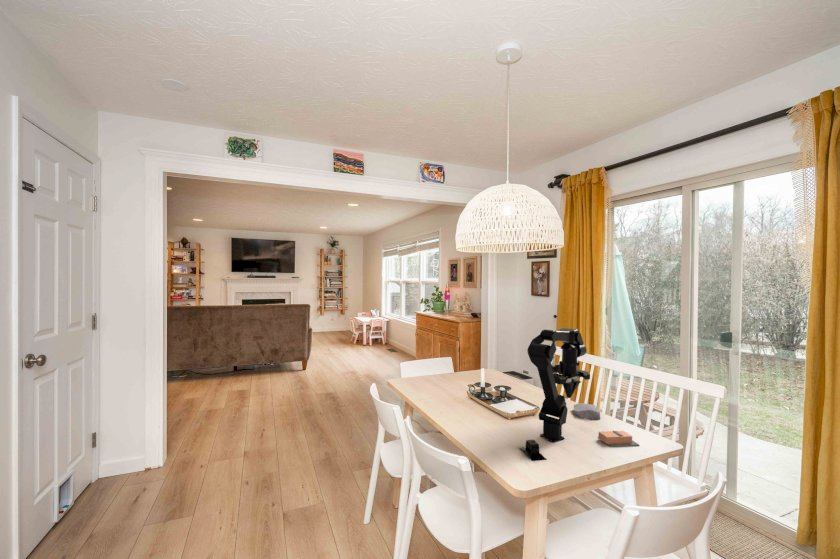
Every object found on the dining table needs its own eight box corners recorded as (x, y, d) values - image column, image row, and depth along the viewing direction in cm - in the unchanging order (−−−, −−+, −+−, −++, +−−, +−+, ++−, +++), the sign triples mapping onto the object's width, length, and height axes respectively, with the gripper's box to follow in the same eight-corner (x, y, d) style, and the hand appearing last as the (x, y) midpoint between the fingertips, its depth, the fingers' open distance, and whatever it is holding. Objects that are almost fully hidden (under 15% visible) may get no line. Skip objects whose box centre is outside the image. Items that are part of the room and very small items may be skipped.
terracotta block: (606, 436, 136) (632, 435, 137) (598, 430, 140) (623, 429, 142) (606, 444, 136) (632, 443, 137) (598, 438, 140) (623, 437, 142)
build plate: (551, 463, 123) (551, 449, 123) (531, 465, 121) (531, 451, 121) (532, 446, 135) (532, 433, 135) (513, 448, 133) (514, 435, 133)
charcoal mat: (611, 446, 134) (611, 445, 134) (597, 437, 142) (597, 436, 142) (639, 445, 136) (639, 444, 136) (624, 436, 143) (624, 435, 143)
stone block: (578, 422, 162) (602, 420, 160) (576, 411, 162) (600, 408, 160) (572, 414, 174) (595, 411, 172) (570, 403, 174) (592, 400, 172)
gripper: (568, 353, 163) (568, 389, 163) (537, 357, 154) (537, 395, 154) (591, 358, 153) (590, 396, 153) (559, 363, 144) (559, 403, 144)
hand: (568, 397), depth 152 cm, fingers closed
